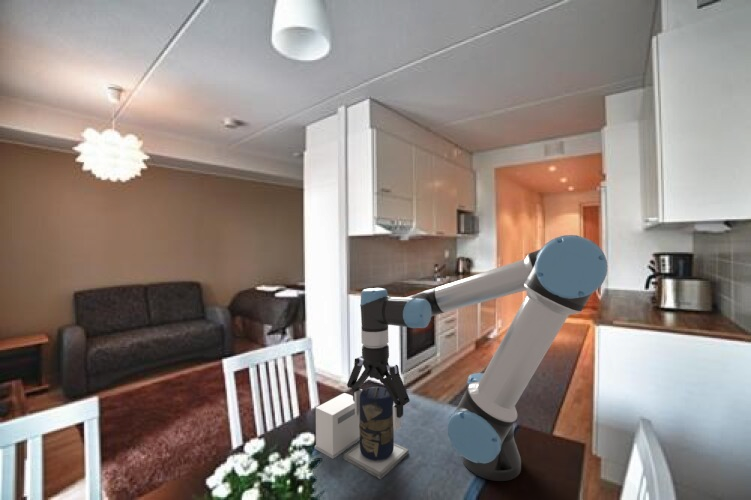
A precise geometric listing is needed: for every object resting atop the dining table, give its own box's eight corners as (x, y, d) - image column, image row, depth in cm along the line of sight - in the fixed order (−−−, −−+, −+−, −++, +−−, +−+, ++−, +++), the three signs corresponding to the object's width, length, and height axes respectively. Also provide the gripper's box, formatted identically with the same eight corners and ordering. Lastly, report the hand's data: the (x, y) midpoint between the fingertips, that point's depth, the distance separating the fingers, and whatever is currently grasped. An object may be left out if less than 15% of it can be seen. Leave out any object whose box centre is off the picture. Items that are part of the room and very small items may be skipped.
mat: (408, 453, 92) (408, 449, 92) (380, 479, 82) (380, 475, 82) (372, 436, 100) (372, 433, 100) (343, 458, 90) (343, 454, 90)
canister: (353, 458, 89) (353, 392, 89) (367, 439, 98) (367, 379, 97) (387, 467, 85) (386, 398, 85) (398, 446, 94) (397, 384, 94)
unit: (362, 437, 100) (362, 398, 100) (333, 459, 90) (332, 416, 90) (344, 429, 105) (344, 392, 105) (314, 448, 95) (314, 407, 95)
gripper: (421, 348, 86) (423, 428, 86) (351, 334, 102) (353, 402, 102) (405, 356, 80) (407, 442, 80) (333, 340, 96) (335, 412, 96)
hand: (377, 420), depth 91 cm, fingers open, 13 cm apart
